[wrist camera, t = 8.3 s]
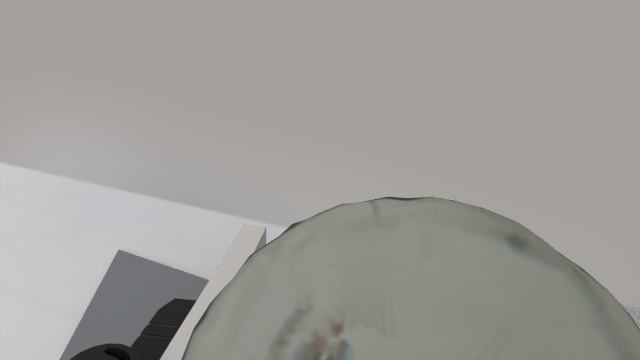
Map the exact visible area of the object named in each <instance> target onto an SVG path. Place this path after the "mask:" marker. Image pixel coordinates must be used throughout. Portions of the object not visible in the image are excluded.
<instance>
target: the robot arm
mask: <svg viewBox="0 0 640 360" xmlns="http://www.w3.org/2000/svg"><path fill="white" fill-rule="evenodd" d="M265 245H266V227H259V226H248V225H244V226H243V228H242V229H241V231H240V232H239V234H238V236H237V237H236V239H235V240H234V242H233V244H232V245H231V247H230V248H229V250H228V252H227V253H226V255H225V256H224V258H223V260H222V261H221V263H220V264H219V266H218V267H217V269H216V271H215V272H214V274H213V275H212V277H211V279H210V280H209V282H208V283H207V285H206V287H205V288H204V290H203V291H202V293H201V295H200V296H199V298H198V299H197V300H188V299H178V298H175V299H173V300H172V301H170V302H169V303H167V304H166V305H164V306H163V307H161V308H160V309H159V310H158V311H157V312H156V314H155V315H154V316H153V318H152V319H151V320H150V322H149V325H147V326H146V327H145V328H144V330H143V331H142V332H141V334H140V337H139V336H138V338H137V339H136V340H135V342H134V343H133V344H132V346H131V347H129V346H126V345H123V344H112V343H107V344H103V345H98V346H93V347H91V348H89V349H86V350H84V351H82V352H80V353H78V354H77V355H75V356H74V357H73V358H71V359H70V360H181V359H182V356H183V354H184V351H185V349H186V346H187V344H188V341H189V339H190V336H191V334H192V331H193V329H194V327H195V326H196V324H197V323H198V321H199V320H200V318H201V317H202V315H203V314H204V312H205V310H206V309H207V307H208V305H209V304H210V303H211V301H212V300H213V299H214V298H215V297H216V296H217V295H218V294H219V293H220V292H221V291H222V289H223V288H224V287H225V286H226V285H227V284H228V283H229V282H230V281H231V280H232V279H233V277H234V276H235V275H236V273H237V272H238V271H239V269H240V268H241V267H242V265H243V264H244V263H245V261H246V260H247V259H248V257H249V256H250V255H251V254H253V253H254V252H256V251H257V250H259V249H260V248H262V247H263V246H265Z"/></svg>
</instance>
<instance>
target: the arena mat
mask: <svg viewBox="0 0 640 360" xmlns="http://www.w3.org/2000/svg"><path fill="white" fill-rule="evenodd" d="M208 282H209V280H206V279H204V278H201V277H198V276H195V275H192V274H189V273H186V272H183V271H180V270H177V269H174V268H171V267H168V266H165V265H162V264H159V263H156V262H153V261H150V260H147V259H144V258H141V257H138V256H135V255H132V254H129V253H126V252H124V251H121V250H118V252H117V254H116V256H115V258H114V259H113V261H112V263H111V265H110V267H109V269H108V271H107V272H106V274H105V276H104V278H103V280H102V282H101V284H100V286H99V287H98V289H97V291H96V293H95V295H94V297H93V299H92V300H91V302H90V304H89V306H88V308H87V310H86V312H85V313H84V315H83V317H82V319H81V321H80V323H79V325H78V327H77V328H76V330H75V332H74V334H73V336H72V338H71V340H70V341H69V343H68V345H67V347H66V349H65V351H64V353H63V354H62V356H61V358H60V360H70V359H71V358H73V357H74V356H75V355H77V354H78V353H80V352H82V351H84V350H86V349H89V348H91V347H93V346H98V345H103V344H107V343H112V344H123V345H126V346H129V347H131V346H132V344H133V343H134V342H135V340H136V339H137V338H138V336H139V337H140V334H141V332H142V331H143V330H144V328H145V327H146V326H147V325H149V322H150V320H151V319H152V318H153V316H154V315H155V314H156V312H157V311H158V310H159V309H160V308H161V307H163V306H164V305H166V304H167V303H169V302H170V301H172V300H173V299H175V298H178V299H188V300H197V299H198V298H199V296H200V295H201V293H202V291H203V290H204V288H205V287H206V285H207V283H208Z"/></svg>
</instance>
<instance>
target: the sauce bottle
mask: <svg viewBox="0 0 640 360" xmlns="http://www.w3.org/2000/svg"><path fill="white" fill-rule="evenodd" d="M181 360H640V329H639V327H638V326H637V324H636V323H635V321H634V320H633V318H632V317H631V315H630V314H629V313H628V312H627V311H626V310H625V308H624V307H623V306H622V305H621V304H620V303H619V302H618V301H617V300H616V299H615V297H614V296H613V295H612V294H611V293H610V292H609V291H608V290H607V289H606V288H604V287H603V286H602V285H601V284H600V283H599V282H597V281H596V280H595V279H594V278H593V277H592V276H590V275H589V274H588V273H587V272H585V270H583V269H582V268H581V267H579V266H578V265H576V264H575V263H573V262H572V261H571V260H569V259H567V258H566V257H565V256H563V255H562V254H560V253H559V252H557V251H556V250H555V249H554V248H553V247H551V246H550V245H549V244H548V243H546V242H545V241H544V240H543V239H541V238H540V237H538V236H537V235H536V234H534V233H533V232H531V231H530V230H529V229H527V228H526V227H524V226H522V225H521V224H519V223H517V222H515V221H513V220H511V219H509V218H506V217H504V216H501V215H499V214H496V213H494V212H491V211H489V210H486V209H484V208H480V207H476V206H473V205H469V204H465V203H461V202H457V201H453V200H446V199H441V198H435V197H424V198H396V197H385V198H380V199H374V200H370V201H365V202H360V203H349V204H341V205H338V206H336V207H333V208H331V209H328V210H326V211H323V212H321V213H319V214H317V215H315V216H313V217H311V218H308V219H307V220H304V221H300V222H297V223H294V224H292V225H291V226H290V227H289V228H288V229H287V230H285V231H284V232H283V233H282V234H281V235H280V236H279V237H277V238H276V239H274V240H273V241H271V242H269V243H268V244H266V245H265V246H263V247H262V248H260V249H259V250H257V251H256V252H254V253H253V254H251V255H250V256H249V257H248V259H247V260H246V261H245V263H244V264H243V265H242V267H241V268H240V269H239V271H238V272H237V273H236V275H235V276H234V277H233V279H232V280H231V281H230V282H229V283H228V284H227V285H226V286H225V287H224V288H223V289H222V291H221V292H220V293H219V294H218V295H217V296H216V297H215V298H214V299H213V300H212V301H211V303H210V304H209V305H208V307H207V309H206V310H205V312H204V314H203V315H202V317H201V318H200V320H199V321H198V323H197V324H196V326H195V327H194V329H193V331H192V334H191V336H190V339H189V341H188V344H187V346H186V349H185V351H184V354H183V356H182V359H181Z"/></svg>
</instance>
